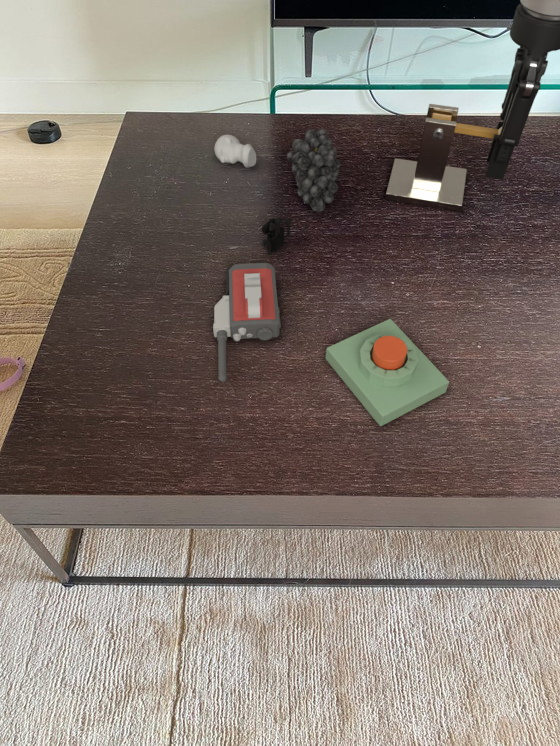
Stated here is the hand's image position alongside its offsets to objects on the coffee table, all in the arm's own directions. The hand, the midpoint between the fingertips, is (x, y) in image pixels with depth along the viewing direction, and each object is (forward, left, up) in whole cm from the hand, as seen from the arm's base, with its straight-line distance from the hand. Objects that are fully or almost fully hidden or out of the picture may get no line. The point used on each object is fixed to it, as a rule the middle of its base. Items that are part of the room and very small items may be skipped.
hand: (494, 169), depth 96 cm
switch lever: (+3, +3, +4) cm, 6 cm away
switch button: (-21, +36, -1) cm, 42 cm away
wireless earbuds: (+7, +36, -5) cm, 37 cm away
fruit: (+15, +24, -5) cm, 29 cm away
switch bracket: (+7, +7, -5) cm, 11 cm away
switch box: (-21, +36, -5) cm, 42 cm away
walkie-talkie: (-5, +47, -5) cm, 47 cm away
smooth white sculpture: (+29, +31, -5) cm, 43 cm away
